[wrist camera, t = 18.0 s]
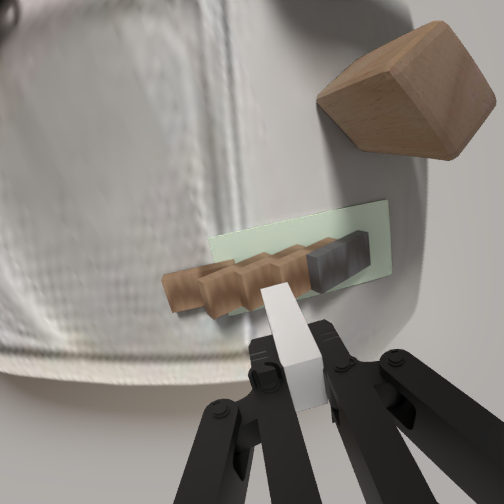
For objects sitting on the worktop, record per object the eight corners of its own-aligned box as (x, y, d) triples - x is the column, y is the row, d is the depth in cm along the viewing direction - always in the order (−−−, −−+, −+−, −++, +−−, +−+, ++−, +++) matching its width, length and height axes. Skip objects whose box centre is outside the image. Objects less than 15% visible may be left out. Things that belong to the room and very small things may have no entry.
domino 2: (296, 244, 43) (233, 271, 39) (306, 246, 42) (241, 275, 37) (302, 276, 45) (242, 306, 41) (311, 280, 43) (250, 311, 39)
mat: (208, 238, 42) (207, 238, 42) (386, 199, 43) (387, 199, 42) (228, 314, 46) (228, 316, 46) (390, 273, 47) (392, 274, 46)
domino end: (233, 258, 43) (163, 274, 43) (234, 264, 41) (161, 280, 41) (241, 291, 45) (174, 306, 44) (242, 297, 43) (172, 312, 42)
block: (311, 100, 38) (384, 68, 19) (357, 57, 36) (444, 14, 17) (360, 154, 40) (455, 166, 22) (402, 110, 39) (502, 102, 20)
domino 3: (327, 237, 43) (269, 263, 39) (337, 239, 42) (279, 266, 37) (331, 269, 45) (276, 298, 41) (341, 272, 43) (286, 303, 39)
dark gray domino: (357, 230, 43) (305, 254, 39) (368, 232, 42) (316, 257, 37) (360, 262, 45) (311, 289, 41) (370, 265, 43) (321, 294, 39)
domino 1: (263, 251, 43) (196, 279, 39) (272, 254, 41) (203, 283, 37) (270, 284, 45) (207, 313, 40) (278, 288, 43) (213, 319, 39)
